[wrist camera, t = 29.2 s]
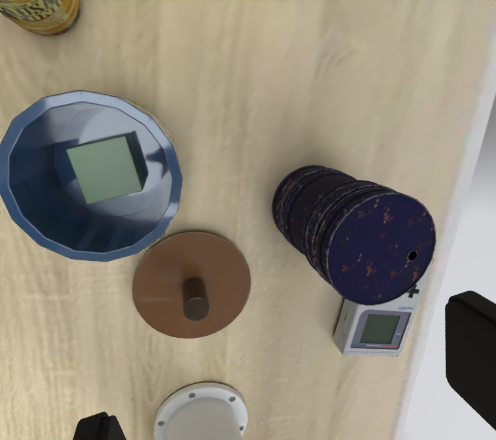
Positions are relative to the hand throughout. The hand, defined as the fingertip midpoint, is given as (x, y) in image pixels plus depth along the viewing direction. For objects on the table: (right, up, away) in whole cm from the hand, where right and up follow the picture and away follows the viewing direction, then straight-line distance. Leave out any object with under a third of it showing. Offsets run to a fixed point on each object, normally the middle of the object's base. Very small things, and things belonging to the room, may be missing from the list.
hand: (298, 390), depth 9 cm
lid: (-8, -3, +31) cm, 32 cm away
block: (-15, +10, +25) cm, 31 cm away
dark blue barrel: (+6, +6, +32) cm, 33 cm away
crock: (-15, +10, +26) cm, 32 cm away
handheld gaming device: (+16, -6, +38) cm, 42 cm away
